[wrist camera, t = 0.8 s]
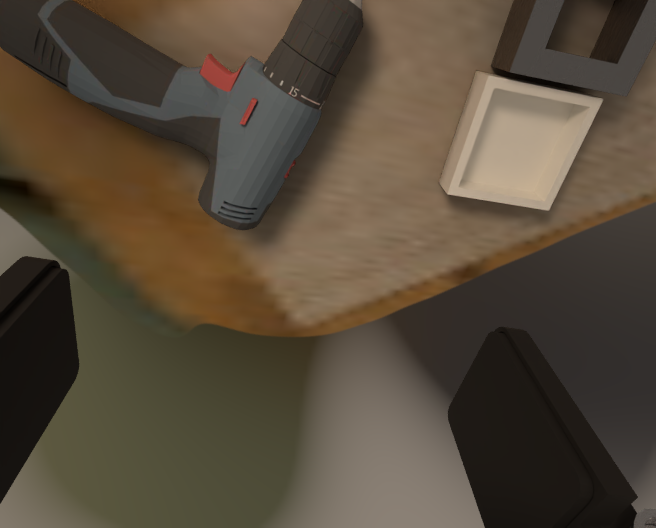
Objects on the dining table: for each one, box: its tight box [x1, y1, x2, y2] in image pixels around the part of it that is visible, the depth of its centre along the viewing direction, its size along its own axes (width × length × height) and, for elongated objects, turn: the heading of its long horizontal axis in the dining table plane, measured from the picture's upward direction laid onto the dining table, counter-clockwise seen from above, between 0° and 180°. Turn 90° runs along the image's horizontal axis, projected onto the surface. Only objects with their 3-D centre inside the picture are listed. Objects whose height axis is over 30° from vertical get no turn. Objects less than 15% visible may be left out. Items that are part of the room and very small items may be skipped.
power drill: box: [0, 0, 363, 230], centre depth 29 cm, size 5×19×20 cm
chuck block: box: [491, 0, 656, 96], centre depth 29 cm, size 9×9×3 cm
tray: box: [439, 71, 603, 211], centre depth 34 cm, size 9×9×3 cm
